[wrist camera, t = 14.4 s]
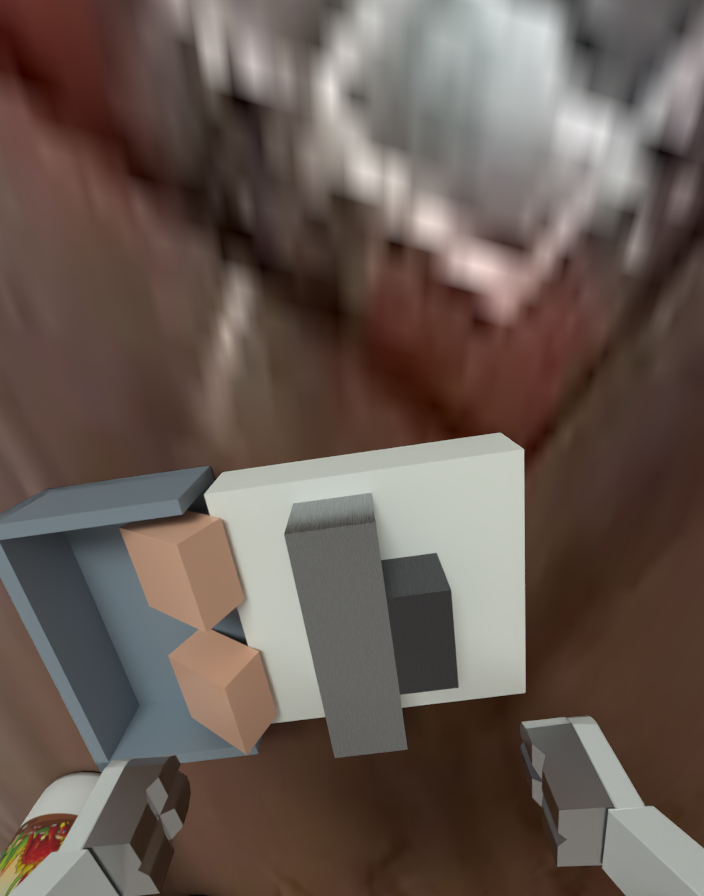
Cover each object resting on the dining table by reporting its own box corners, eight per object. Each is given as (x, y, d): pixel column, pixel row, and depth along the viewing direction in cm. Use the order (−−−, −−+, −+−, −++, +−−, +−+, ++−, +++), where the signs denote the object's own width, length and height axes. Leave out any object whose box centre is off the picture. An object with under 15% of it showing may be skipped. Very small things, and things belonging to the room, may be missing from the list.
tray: (209, 465, 22) (177, 499, 18) (271, 687, 27) (258, 754, 23) (45, 489, 22) (-26, 527, 18) (138, 704, 27) (100, 772, 23)
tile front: (220, 517, 19) (176, 544, 17) (244, 599, 21) (206, 633, 19) (162, 505, 22) (119, 527, 20) (187, 578, 23) (149, 606, 21)
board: (500, 432, 21) (524, 449, 19) (506, 652, 26) (525, 692, 24) (222, 472, 22) (203, 494, 19) (278, 681, 27) (270, 723, 24)
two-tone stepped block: (293, 503, 19) (430, 484, 19) (336, 705, 24) (448, 692, 23) (284, 534, 16) (445, 512, 16) (334, 758, 21) (462, 743, 21)
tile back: (258, 651, 22) (224, 688, 20) (277, 715, 23) (246, 755, 21) (203, 625, 24) (167, 655, 22) (222, 684, 26) (191, 717, 24)
